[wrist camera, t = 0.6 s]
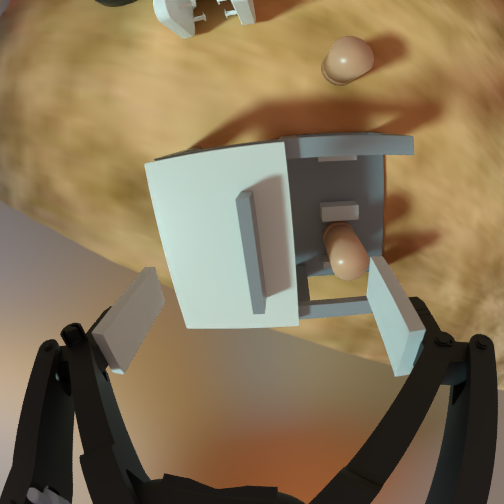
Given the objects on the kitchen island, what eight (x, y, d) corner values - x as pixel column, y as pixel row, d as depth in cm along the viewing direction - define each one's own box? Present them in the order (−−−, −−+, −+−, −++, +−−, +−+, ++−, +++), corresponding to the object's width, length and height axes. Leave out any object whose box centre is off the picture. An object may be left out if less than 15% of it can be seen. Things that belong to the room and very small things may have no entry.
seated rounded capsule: (322, 220, 39) (331, 246, 31) (353, 218, 39) (370, 243, 30) (323, 250, 41) (331, 281, 33) (353, 248, 40) (368, 278, 32)
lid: (149, 162, 28) (130, 168, 24) (284, 141, 25) (284, 143, 22) (189, 322, 36) (180, 343, 32) (298, 319, 34) (299, 342, 30)
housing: (187, 149, 38) (154, 159, 28) (380, 132, 33) (413, 136, 24) (212, 280, 46) (194, 322, 36) (379, 268, 42) (401, 309, 32)
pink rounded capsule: (319, 55, 30) (328, 35, 22) (352, 55, 29) (370, 37, 21) (323, 85, 32) (335, 73, 24) (356, 85, 31) (377, 74, 23)
